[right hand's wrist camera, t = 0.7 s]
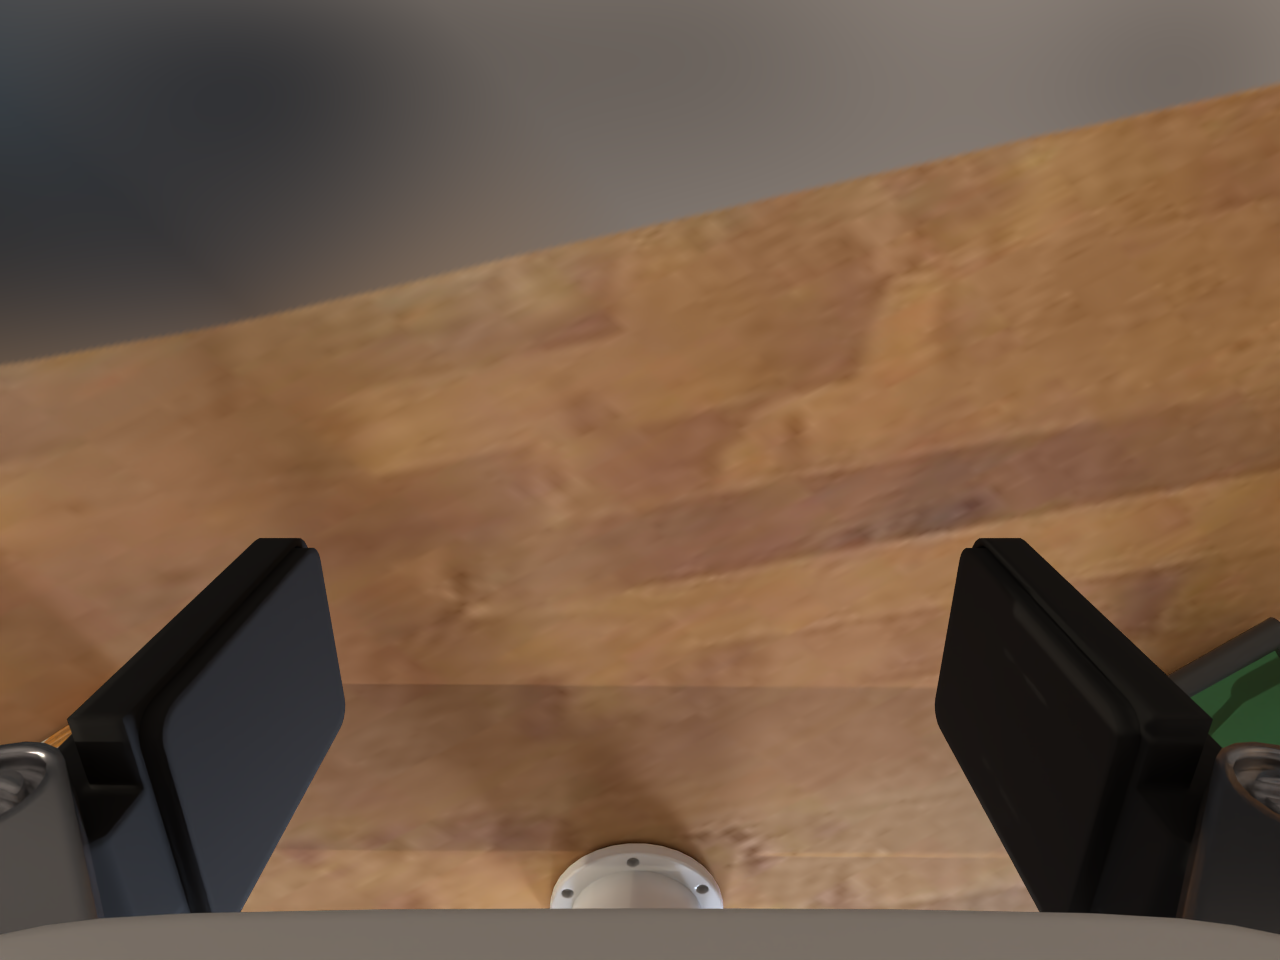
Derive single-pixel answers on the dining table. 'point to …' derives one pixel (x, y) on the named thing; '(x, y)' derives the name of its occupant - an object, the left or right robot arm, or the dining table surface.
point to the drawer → (1239, 686)
